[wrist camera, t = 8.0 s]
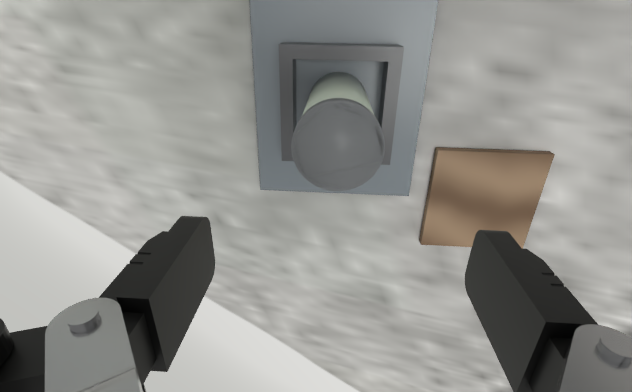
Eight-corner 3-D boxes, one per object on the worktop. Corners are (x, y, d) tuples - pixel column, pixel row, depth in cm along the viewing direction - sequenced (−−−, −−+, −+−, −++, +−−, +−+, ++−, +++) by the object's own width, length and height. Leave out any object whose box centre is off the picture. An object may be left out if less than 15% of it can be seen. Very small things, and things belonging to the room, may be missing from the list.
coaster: (435, 147, 32) (438, 150, 31) (549, 151, 32) (554, 154, 31) (419, 240, 36) (420, 244, 36) (518, 244, 36) (522, 249, 35)
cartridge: (308, 69, 29) (290, 100, 18) (370, 71, 28) (390, 103, 18) (307, 129, 31) (291, 189, 20) (365, 131, 31) (380, 192, 20)
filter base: (243, -158, 23) (221, -199, 19) (458, -158, 23) (487, -201, 18) (262, 185, 35) (251, 210, 30) (406, 191, 34) (417, 217, 30)
